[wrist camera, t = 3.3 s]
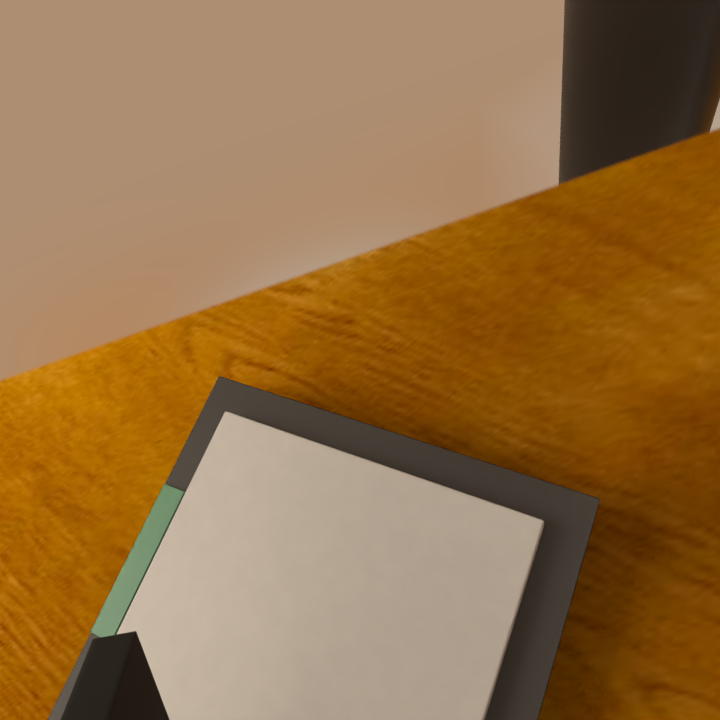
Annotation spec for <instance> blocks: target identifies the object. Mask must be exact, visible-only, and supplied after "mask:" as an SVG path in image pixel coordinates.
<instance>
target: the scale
mask: <svg viewBox="0 0 720 720" xmlns="http://www.w3.org/2000/svg"><path fill="white" fill-rule="evenodd" d="M599 502H600V499H599V498H596V497H593V496H590V495H587V494H584V493H581V492H578V491H574V490H571V489H568V488H565V487H562V486H559V485H556V484H553V483H550V482H546V481H543V480H540V479H537V478H534V477H531V476H528V475H525V474H522V473H519V472H515V471H512V470H509V469H506V468H503V467H500V466H497V465H494V464H491V463H487V462H484V461H481V460H478V459H475V458H472V457H469V456H466V455H463V454H460V453H456V452H453V451H450V450H447V449H444V448H441V447H438V446H435V445H432V444H428V443H425V442H422V441H419V440H416V439H413V438H410V437H407V436H404V435H401V434H397V433H394V432H391V431H388V430H385V429H382V428H379V427H376V426H373V425H369V424H366V423H363V422H360V421H357V420H354V419H351V418H348V417H345V416H342V415H338V414H335V413H332V412H329V411H326V410H323V409H320V408H317V407H314V406H310V405H307V404H304V403H301V402H298V401H295V400H292V399H289V398H286V397H283V396H279V395H276V394H273V393H270V392H267V391H264V390H261V389H258V388H255V387H251V386H248V385H245V384H242V383H239V382H236V381H233V380H230V379H227V378H224V377H220V376H219V378H218V380H217V382H216V384H215V386H214V388H213V390H212V392H211V394H210V396H209V398H208V400H207V402H206V404H205V406H204V408H203V410H202V412H201V414H200V416H199V418H198V420H197V422H196V424H195V426H194V428H193V430H192V432H191V434H190V436H189V438H188V440H187V442H186V444H185V446H184V448H183V450H182V452H181V454H180V456H179V458H178V460H177V462H176V464H175V466H174V468H173V470H172V472H171V474H170V476H169V478H168V480H167V482H166V484H164V486H163V488H162V490H161V492H160V494H159V496H158V498H157V500H156V502H155V504H154V506H153V508H152V510H151V512H150V514H149V516H148V518H147V520H146V522H145V524H144V526H143V528H142V530H141V532H140V534H139V536H138V538H137V540H136V542H135V544H134V546H133V548H132V550H131V552H130V554H129V556H128V558H127V560H126V562H125V564H124V566H123V568H122V570H121V572H120V574H119V576H118V578H117V580H116V582H115V584H114V586H113V588H112V590H111V592H110V594H109V596H108V598H107V600H106V602H105V604H104V606H103V608H102V610H101V612H100V614H99V616H98V618H97V620H96V622H95V624H94V626H93V628H92V630H91V634H90V636H89V638H88V640H87V642H86V644H85V646H84V648H83V650H82V652H81V654H80V656H79V658H78V660H77V662H76V664H75V666H74V668H73V670H72V672H71V674H70V676H69V678H68V680H67V682H66V684H65V686H64V688H63V690H62V692H61V694H60V696H59V698H58V700H57V702H56V704H55V706H54V708H53V710H52V712H51V714H50V716H49V718H48V720H61V718H62V715H63V713H64V710H65V707H66V705H67V702H68V700H69V697H70V695H71V692H72V690H73V687H74V685H75V682H76V680H77V677H78V675H79V672H80V670H81V667H82V665H83V662H84V660H85V657H86V655H87V652H88V650H89V647H90V645H91V642H92V640H93V639H95V638H101V637H106V636H112V635H117V634H122V633H128V632H133V631H136V632H137V635H138V637H139V640H140V643H141V645H142V648H143V651H144V653H145V656H146V659H147V661H148V664H149V667H150V669H151V672H152V675H153V677H154V680H155V682H156V685H157V688H158V690H159V693H160V696H161V698H162V701H163V704H164V706H165V709H166V712H167V714H168V717H169V720H538V718H539V715H540V711H541V708H542V704H543V701H544V697H545V693H546V690H547V686H548V683H549V679H550V676H551V672H552V669H553V665H554V662H555V658H556V654H557V651H558V647H559V644H560V640H561V637H562V633H563V630H564V626H565V623H566V619H567V616H568V612H569V608H570V605H571V601H572V598H573V594H574V591H575V587H576V584H577V580H578V577H579V573H580V570H581V566H582V562H583V559H584V555H585V552H586V548H587V545H588V541H589V538H590V534H591V531H592V527H593V523H594V520H595V516H596V513H597V509H598V506H599Z"/></svg>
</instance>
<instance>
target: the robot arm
mask: <svg viewBox="0 0 720 720" xmlns="http://www.w3.org/2000/svg"><path fill="white" fill-rule="evenodd" d="M61 720H169V717H168V714H167V712H166V709H165V706H164V704H163V701H162V698H161V696H160V693H159V690H158V688H157V685H156V682H155V680H154V677H153V675H152V672H151V669H150V667H149V664H148V661H147V659H146V656H145V653H144V651H143V648H142V645H141V643H140V640H139V637H138V635H137V632H136V631H133V632H128V633H122V634H117V635H112V636H106V637H101V638H95V639H93V640H92V642H91V645H90V647H89V650H88V652H87V655H86V657H85V660H84V662H83V665H82V667H81V670H80V672H79V675H78V677H77V680H76V682H75V685H74V687H73V690H72V692H71V695H70V697H69V700H68V702H67V705H66V707H65V710H64V713H63V715H62V718H61Z"/></svg>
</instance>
